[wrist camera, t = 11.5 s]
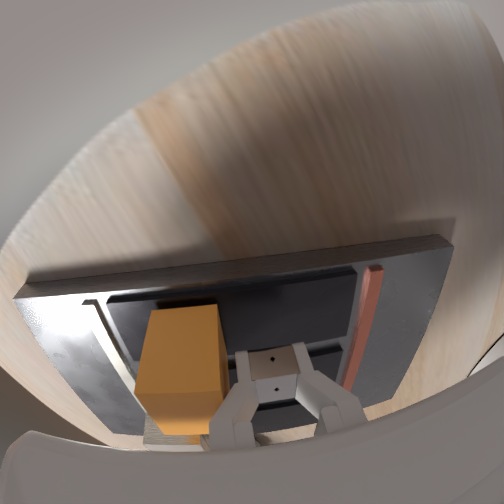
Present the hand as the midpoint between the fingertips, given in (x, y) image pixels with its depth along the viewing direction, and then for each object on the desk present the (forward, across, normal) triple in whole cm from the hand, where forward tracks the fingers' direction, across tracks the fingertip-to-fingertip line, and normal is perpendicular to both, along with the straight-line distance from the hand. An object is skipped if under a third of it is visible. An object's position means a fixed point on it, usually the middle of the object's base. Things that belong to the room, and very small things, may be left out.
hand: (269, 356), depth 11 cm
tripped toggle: (+2, +3, 0) cm, 4 cm away
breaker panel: (+4, +1, +6) cm, 7 cm away
